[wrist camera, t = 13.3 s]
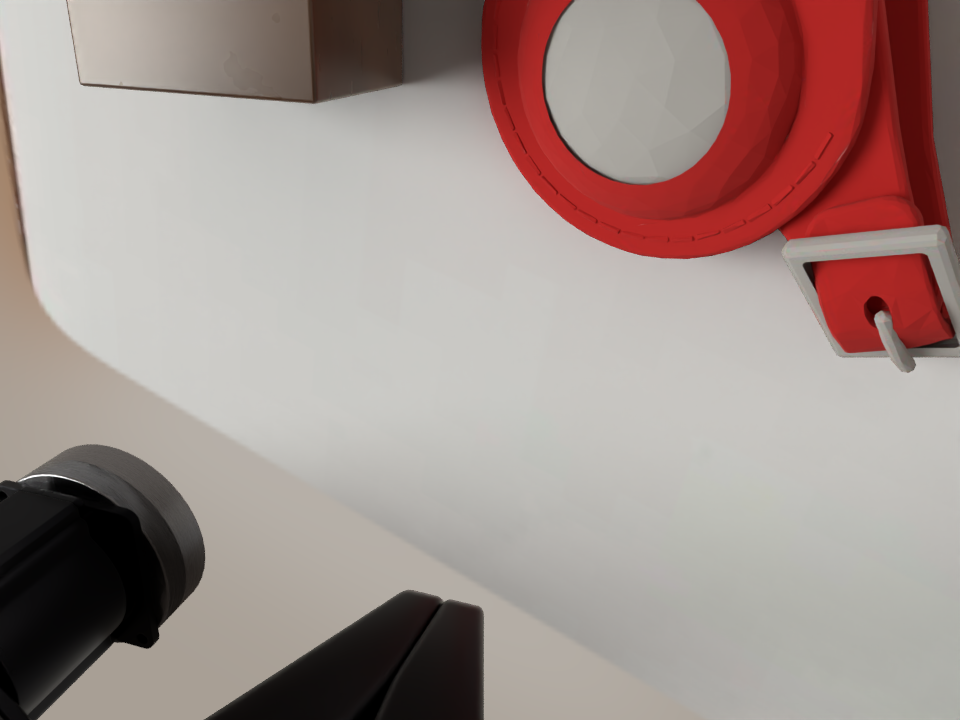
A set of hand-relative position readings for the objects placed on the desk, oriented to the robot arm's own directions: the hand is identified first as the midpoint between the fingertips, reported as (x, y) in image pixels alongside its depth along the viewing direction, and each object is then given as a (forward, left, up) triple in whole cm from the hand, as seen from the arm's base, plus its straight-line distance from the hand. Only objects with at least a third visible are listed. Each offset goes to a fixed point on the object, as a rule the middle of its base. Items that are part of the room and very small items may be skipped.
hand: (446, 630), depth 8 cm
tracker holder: (+4, -2, -13) cm, 14 cm away
